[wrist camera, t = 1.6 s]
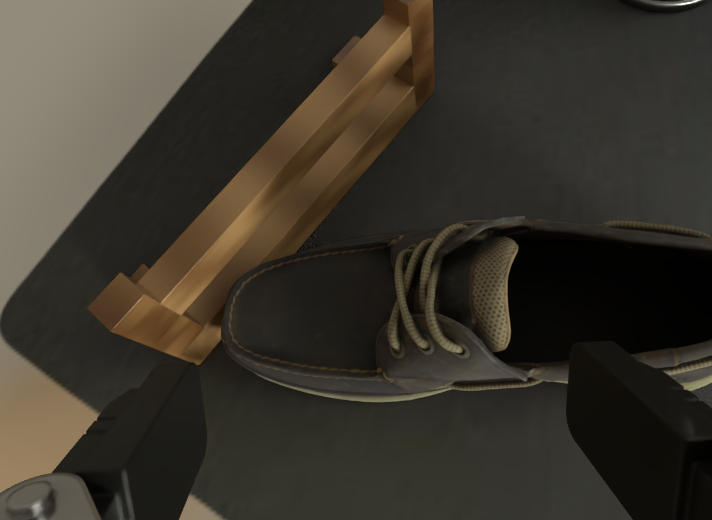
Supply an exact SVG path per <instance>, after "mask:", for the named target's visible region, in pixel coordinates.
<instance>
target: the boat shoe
mask: <svg viewBox="0 0 712 520" xmlns="http://www.w3.org/2000/svg"><path fill="white" fill-rule="evenodd" d="M221 339H222V342H223V346H224V348H225V350H226V351H227V353H228V355H229V356H230V357H231V358H232V359H233V360H234V361H236V362H237V363H238V364H240V365H241V366H243V367H244V368H246V369H248V370H250V371H252V372H254V373H255V374H256V375H258V376H260V377H262V378H264V379H266V380H269V381H272V382H274V383H277V384H280V385H283V386H286V387H289V388H292V389H296V390H299V391H303V392H307V393H311V394H315V395H320V396H325V397H330V398H337V399H345V400H352V401H362V402H393V401H403V400H411V399H416V398H421V397H426V396H430V395H434V394H438V393H441V392H444V391H447V390H451V389H456V390H462V391H474V390H487V389H501V388H516V387H527V386H531V385H535V384H539V383H540V382H542V381H546V382H560V383H566V384H568V373H569V358H570V351H571V348H572V346H573V344H574V343H578V342H597V341H613V342H615V343H616V344H617V345H619V346H620V347H621V348H622V349H624V350H625V351H626V352H627V353H629V354H630V355H631V356H632V357H634V358H635V359H636V360H637V361H639V362H642V363H644V364H647V365H649V366H651V367H653V368H656V369H658V370H660V371H662V372H665V373H666V374H668V375H669V376H670V377H672V378H673V379H674V380H676V381H677V382H678V383H680V384H681V385H682V386H683V387H684V390H689V391H692V390H694V389H697V388H700V387H703V386H705V385H707V384H709V383H711V382H712V237H711V236H709V235H707V234H705V233H703V232H700V231H696V230H692V229H688V228H682V227H676V226H670V225H663V224H654V223H643V222H632V221H610V222H606V223H603V224H600V225H599V224H585V223H571V222H562V221H551V220H543V219H527V220H525V216H523V215H522V216H514V217H503V218H498V219H494V220H468V221H463V222H459V223H457V224H454V225H451V226H449V227H444V228H442V229H434V230H411V231H405V230H404V231H398V232H391V233H383V234H376V235H369V236H362V237H356V238H351V239H346V240H342V241H338V242H334V243H330V244H327V245H323V246H319V247H316V248H313V249H309V250H306V251H303V252H299V253H296V254H293V255H289V256H286V257H283V258H279V259H275V260H272V261H269V262H266V263H264V264H261V265H259V266H257V267H255V268H253V269H251V270H250V271H248V272H247V273H245V274H244V275H243V276H241V277H240V278H239V279H238V280H237V281H236V282H235V283H234V284H233V285H232V287H231V288H230V290H229V294H228V296H227V299H226V304H225V308H224V315H223V318H222V325H221Z"/></svg>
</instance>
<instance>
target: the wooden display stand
mask: <svg viewBox="0 0 712 520" xmlns="http://www.w3.org/2000/svg"><path fill="white" fill-rule="evenodd" d="M382 1H383V9H384V15H383V16H382V17H381V18H380V19H379V20H378V21H377V23H376V24H375V25H374V26H373V27H372V28H371V29H370V30H369V31H368V32H367V33H366V35H365V36H364V37H363V38H362V39H361V38H359V37H357V36H354V37H353V38H352V39H351V40H350V41H349V42H348V43H347V44H346V45H345V46H344V47H343V48H342V49H341V51H340V52H339V53H338V54H337V55H336V56H335V57H334V58H333V59H332V65H333V68H334V69H333V70H332V71H331V73H330V74H329V75H328V76H327V77H326V78H325V79H324V80H323V81H322V82H321V83H320V85H319V86H318V87H317V88H316V89H315V90H314V91H313V92H312V93H311V94H310V95H309V96H308V98H307V99H306V100H305V101H304V102H303V103H302V104H301V105H300V106H299V107H298V108H297V109H296V111H295V112H294V113H293V114H292V115H291V116H290V117H289V118H288V119H287V120H286V121H285V123H284V124H283V125H282V126H281V127H280V128H279V129H278V130H277V131H276V132H275V133H274V134H273V136H272V137H271V138H270V139H269V140H268V141H267V142H266V143H265V144H264V145H263V146H262V148H261V149H260V150H259V151H258V152H257V153H256V154H255V155H254V156H253V157H252V158H251V159H250V161H249V162H248V163H247V164H246V165H245V166H244V167H243V168H242V169H241V170H240V171H239V173H238V174H237V175H236V176H235V177H234V178H233V179H232V180H231V181H230V182H229V183H228V184H227V186H226V187H225V188H224V189H223V190H222V191H221V192H220V193H219V194H218V195H217V196H216V198H215V199H214V200H213V201H212V202H211V203H210V204H209V205H208V206H207V207H206V208H205V209H204V211H203V212H202V213H201V214H200V215H199V216H198V217H197V218H196V219H195V220H194V221H193V222H192V224H191V225H190V226H189V227H188V228H187V229H186V230H185V231H184V232H183V233H182V234H181V236H180V237H179V238H178V239H177V240H176V241H175V242H174V243H173V244H172V245H171V246H170V247H169V249H168V250H167V251H166V252H165V253H164V254H163V255H162V256H161V257H160V258H159V259H158V261H157V262H156V263H155V264H154V265H153V266H152V267H151V268H149V267H148V266H146V265H144V264H142V265H141V266H140V267H139V268H138V269H137V270H136V272H135V273H134V274H133V275H132V276H131V277H128V276H126V275H125V274H123V273H121V272H120V273H119V274H118V275H117V276H116V278H115V279H114V280H113V281H112V282H111V283H110V284H109V285H108V286H107V287H106V288H105V289H104V290H103V291H102V293H101V294H100V295H99V296H98V297H97V298H96V299H95V300H94V301H93V302H92V303H91V304H90V305H89V306H88V308H87V309H88V310H89V311H90V312H91V313H92V314H93V315H94V316H95V317H96V318H97V319H98V320H99V321H100V322H101V323H102V324H103V325H104V326H105V327H106V328H107V329H108V330H109V331H110V332H113V333H116V334H118V335H121V336H123V337H126V338H128V339H131V340H134V341H136V342H139V343H141V344H144V345H146V346H149V347H152V348H154V349H157V350H159V351H162V352H165V353H167V354H170V355H172V356H175V357H177V358H180V359H183V360H185V361H188V362H194V363H195V364H196V365H198V366H199V365H200V364H201V363H202V362H203V361H204V359H205V358H206V357H207V356H208V355H209V353H210V352H211V351H212V350H213V349H214V348H215V346H216V345H217V344H218V343H219V342H220V341H221V325H222V318H223V315H224V308H225V304H226V299H227V296H228V294H229V290H230V288H231V287H232V285H233V284H234V283H235V282H236V281H237V280H238V279H239V278H240V277H241V276H243V275H244V274H245V273H247V272H248V271H250V270H251V269H253V268H255V267H257V266H259V265H261V264H264V263H266V262H269V261H272V260H275V259H279V258H283V257H286V256H289V255H293V254H295V253H296V252H297V250H298V249H299V248H300V247H301V246H302V245H303V243H304V242H305V241H306V240H307V239H308V238H309V236H310V235H311V234H312V233H313V232H314V231H315V229H316V228H317V227H318V226H319V225H320V224H321V222H322V221H323V220H324V219H325V218H326V217H327V215H328V214H329V213H330V212H331V211H332V210H333V208H334V207H335V206H336V205H337V204H338V203H339V201H340V200H341V199H342V198H343V197H344V196H345V194H346V193H347V192H348V191H349V190H350V189H351V187H352V186H353V185H354V184H355V183H356V182H357V180H358V179H359V178H360V177H361V176H362V175H363V173H364V172H365V171H366V170H367V169H368V168H369V166H370V165H371V164H372V163H373V162H374V161H375V159H376V158H377V157H378V156H379V155H380V154H381V152H382V151H383V150H384V149H385V148H386V147H387V145H388V144H389V143H390V142H391V141H392V140H393V138H394V137H395V136H396V135H397V134H398V133H399V131H400V130H401V129H402V128H403V127H404V126H405V124H406V123H407V122H408V121H409V120H410V118H411V117H412V116H413V115H414V114H415V113H416V112H417V110H418V109H419V108H420V107H421V106H422V105H423V103H424V102H425V101H426V100H427V99H428V98H429V96H430V95H431V94H432V93H433V92H434V41H433V0H382Z"/></svg>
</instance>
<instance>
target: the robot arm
mask: <svg viewBox="0 0 712 520" xmlns="http://www.w3.org/2000/svg"><path fill="white" fill-rule="evenodd" d="M622 1H623V2H625V3H627V4H630V5H632V6H635V7H637V8H641V9H645V10H650V11H660V12H672V11H681V10H686V9H690V8H694V7H697V6H699V5H702V4H704V3H706V2H708V1H709V0H622ZM566 416H567V423H568V427H569V430H570V433H571V435H572V437H573V439H574V440H575V442H576V443H577V444H578V446H579V447H580V448H581V450H582V451H583V452H584V454H585V455H586V457H587V458H588V459H589V461H590V462H591V463H592V465H593V466H594V467H595V469H596V470H597V471H598V473H599V474H600V476H601V477H602V478H603V480H604V481H605V482H606V484H607V485H608V486H609V488H610V489H611V490H612V492H613V493H614V495H615V496H616V497H617V499H618V500H619V501H620V503H621V504H622V505H623V507H624V508H625V509H626V511H627V512H628V514H629V515H630V516H631V518H632V519H633V520H712V408H711V407H709V406H708V405H707V404H706V403H704V402H703V401H699V398H698V397H696V396H695V395H694V394H693V393H691V392H690V391H689V390H684V387H683V386H682V385H681V384H680V383H678V382H677V381H676V380H674V379H673V378H672V377H670V376H669V375H668V374H666V373H665V372H662V371H660V370H658V369H656V368H653V367H651V366H649V365H647V364H644V363H642V362H639V361H637V360H636V359H635V358H634V357H632V356H631V355H630V354H629V353H627V352H626V351H625V350H624V349H622V348H621V347H620V346H619V345H617V344H616V343H615V342H613V341H597V342H578V343H574V344H573V346H572V348H571V351H570V358H569V373H568V388H567V403H566ZM86 432H87V433H86V434H84V435H83V436H82V437H81V438H80V439H79V441H78V442H77V443H76V444H75V445H74V447H73V448H72V449H71V450H70V452H69V453H68V454H67V455H66V456H65V457H64V459H63V460H62V461H61V462H60V464H59V465H58V466H57V467H56V469H55V470H54V471H53V472H52V473H50V474H45V475H40V476H37V477H34V478H30V479H28V480H25V481H22V482H20V483H18V484H15V485H14V486H12V487H10V488H8V489H6V490H4V491H3V492H1V493H0V520H179V518H180V515H181V513H182V511H183V508H184V506H185V503H186V501H187V498H188V496H189V493H190V491H191V489H192V486H193V484H194V481H195V479H196V476H197V474H198V472H199V469H200V467H201V464H202V462H203V459H204V456H205V451H206V443H207V429H206V421H205V414H204V406H203V399H202V392H201V384H200V377H199V371H198V368H197V365H196V364H195V363H194V362H190V363H171V364H158V365H156V366H155V368H154V369H153V370H152V372H151V373H150V374H149V375H148V377H147V378H146V379H145V381H144V382H143V383H142V385H141V386H140V387H139V388H135V389H130V390H128V391H127V392H125V393H124V394H122V395H121V396H119V397H118V398H116V399H115V400H113V401H111V402H110V403H109V404H108V406H107V407H106V408H105V409H104V410H103V412H102V413H101V414H100V415H99V416H98V418H97V421H94V422H93V424H92V425H91V426H90V427H89V428H88V430H87V431H86Z"/></svg>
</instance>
